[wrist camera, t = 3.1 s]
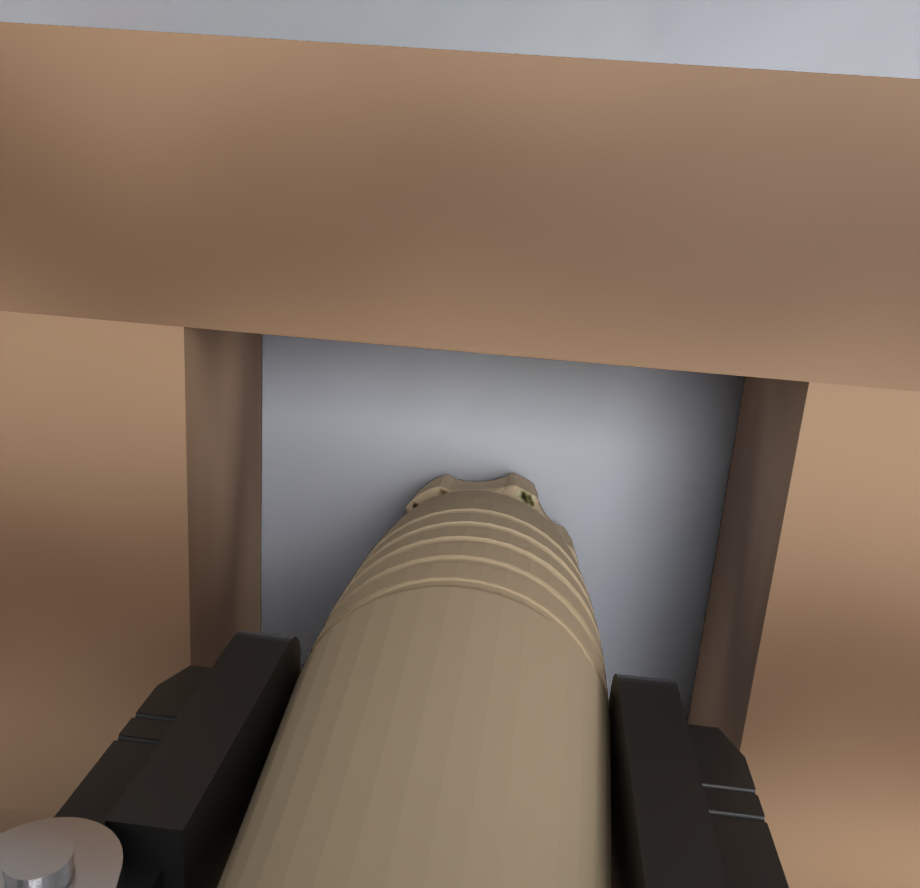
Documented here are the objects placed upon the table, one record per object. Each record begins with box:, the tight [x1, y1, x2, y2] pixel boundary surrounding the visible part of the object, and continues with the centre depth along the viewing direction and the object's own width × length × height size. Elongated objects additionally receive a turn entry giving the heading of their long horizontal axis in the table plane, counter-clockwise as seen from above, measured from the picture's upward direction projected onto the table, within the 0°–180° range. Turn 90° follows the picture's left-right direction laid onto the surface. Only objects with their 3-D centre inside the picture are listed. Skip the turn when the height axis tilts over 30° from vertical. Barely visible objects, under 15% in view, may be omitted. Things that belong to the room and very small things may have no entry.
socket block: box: [0, 22, 920, 888], centre depth 15 cm, size 16×16×4 cm
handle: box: [217, 473, 611, 888], centre depth 9 cm, size 5×6×15 cm
